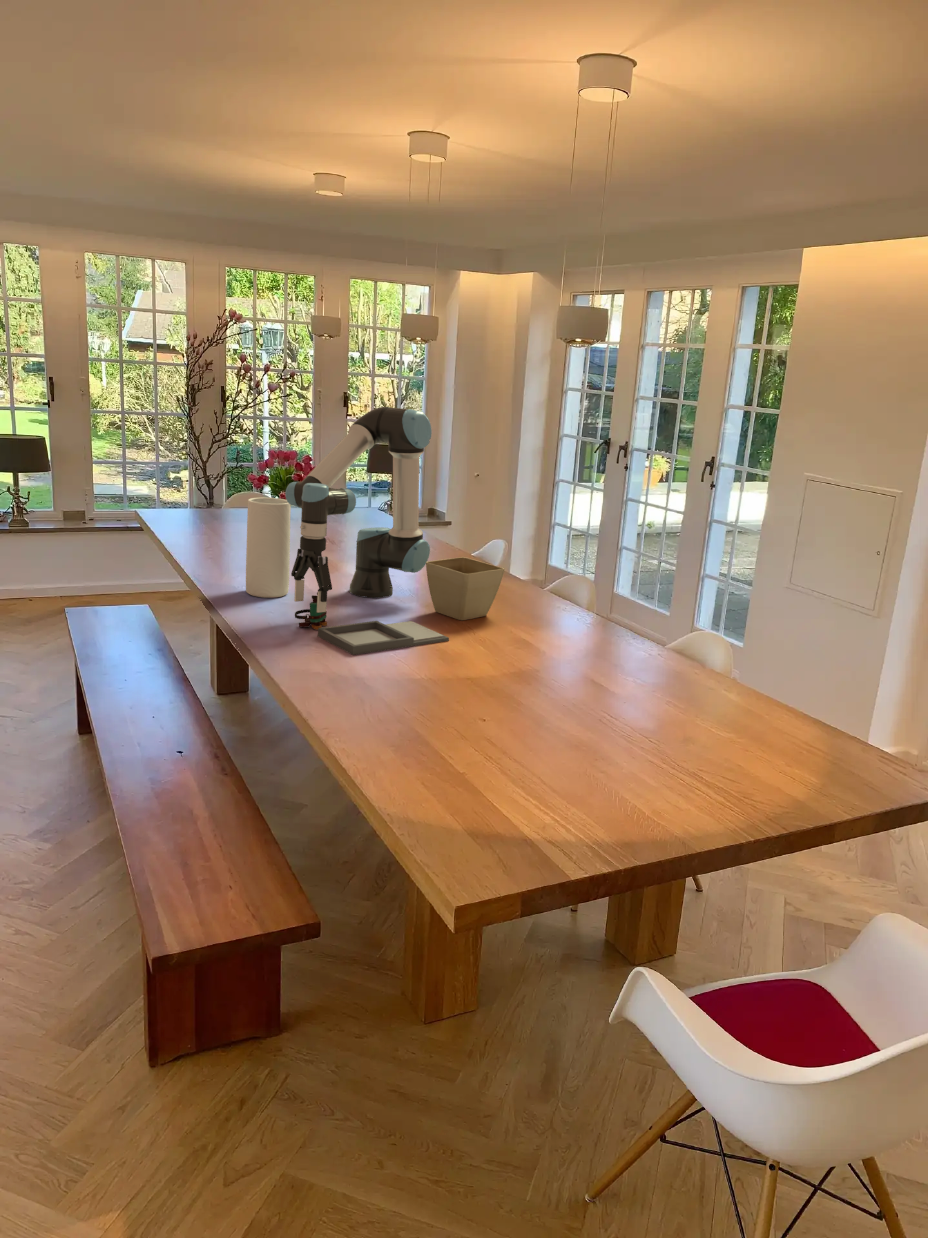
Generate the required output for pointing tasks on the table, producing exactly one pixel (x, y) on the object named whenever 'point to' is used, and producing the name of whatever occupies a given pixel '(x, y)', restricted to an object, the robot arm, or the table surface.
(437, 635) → the case
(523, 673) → the table surface
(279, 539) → the vase
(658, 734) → the table surface
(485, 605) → the flower pot
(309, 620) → the binoculars
